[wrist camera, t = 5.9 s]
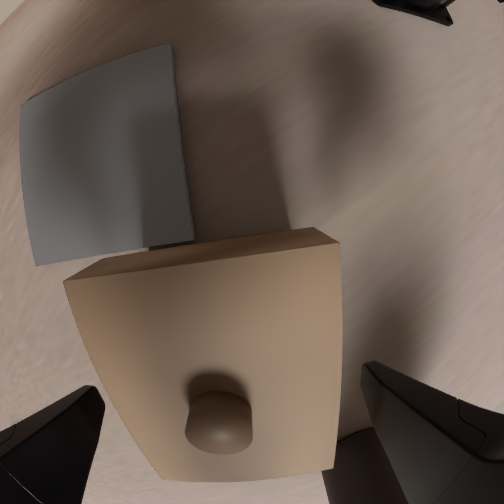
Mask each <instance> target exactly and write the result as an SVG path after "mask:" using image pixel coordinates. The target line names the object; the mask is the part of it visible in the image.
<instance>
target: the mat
mask: <svg viewBox="0 0 504 504" xmlns="http://www.w3.org/2000/svg"><path fill="white" fill-rule="evenodd" d="M20 162H21V179H22V190H23V199H24V207H25V214H26V221H27V227H28V232H29V238H30V243H31V247H32V252H33V256H34V261H35V265H36V266H40V265H45V264H51V263H56V262H62V261H68V260H73V259H79V258H85V257H91V256H97V255H103V254H109V253H115V252H121V251H127V250H133V249H139V248H146V247H152V246H158V245H165V244H171V243H178V242H185V241H191V240H194V239H195V238H196V237H195V231H194V225H193V219H192V213H191V206H190V200H189V193H188V186H187V179H186V172H185V164H184V157H183V149H182V140H181V132H180V122H179V113H178V103H177V92H176V80H175V67H174V52H173V46H172V44H171V42H170V43H166V44H162V45H159V46H155V47H151V48H148V49H144V50H141V51H138V52H135V53H132V54H129V55H126V56H123V57H120V58H117V59H114V60H112V61H109V62H106V63H104V64H101V65H99V66H96V67H94V68H91V69H89V70H87V71H84V72H82V73H80V74H78V75H76V76H73V77H71V78H69V79H67V80H65V81H63V82H61V83H59V84H57V85H55V86H53V87H52V88H50V89H48V90H46V91H44V92H42V93H41V94H39V95H37V96H35V97H34V98H32V99H30V100H29V101H27V102H25V103H24V104H22V105H21V118H20Z"/></svg>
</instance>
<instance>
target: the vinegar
mask: <svg viewBox="0 0 504 504" xmlns="http://www.w3.org/2000/svg"><path fill="white" fill-rule="evenodd" d="M321 472H322V476H323V480H324V484H325V488H326V492H327V496H328V500H329V504H409V503H408V501H407V499H406V496H405V494H404V492H403V489H402V487H401V485H400V483H399V480H398V478H397V476H396V474H395V471H394V469H393V467H392V465H391V463H390V460H389V458H388V456H387V454H386V452H385V450H384V448H383V445H382V443H381V441H380V439H379V437H378V435H377V433H376V431H375V429H369V430H365V431H361V432H358V433H356V434H353V435H351V436H349V437H347V438H345V439H343V440H342V441H340V442H338V443H336V451H335V459H334V466H333V468H332V469H327V470H323V471H321Z"/></svg>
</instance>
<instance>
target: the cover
mask: <svg viewBox="0 0 504 504" xmlns="http://www.w3.org/2000/svg"><path fill="white" fill-rule="evenodd" d="M63 284H64V288H65V291H66V294H67V297H68V301H69V304H70V307H71V310H72V313H73V316H74V318H75V321H76V324H77V327H78V329H79V332H80V335H81V337H82V340H83V342H84V345H85V347H86V350H87V352H88V354H89V357H90V359H91V361H92V363H93V366H94V368H95V370H96V372H97V374H98V376H99V379H100V381H101V383H102V385H103V387H104V389H105V391H106V393H107V395H108V396H109V398H110V400H111V402H112V404H113V406H114V408H115V409H116V411H117V413H118V415H119V416H120V418H121V420H122V422H123V423H124V425H125V427H126V428H127V430H128V432H129V433H130V435H131V436H132V438H133V439H134V441H135V443H136V444H137V446H138V447H139V449H140V450H141V452H142V453H143V454H144V456H145V457H146V459H147V460H148V462H149V463H150V464H151V466H152V467H153V469H154V470H155V471H156V473H157V474H158V475H159V476H160V478H161V479H162V480H172V481H187V482H240V481H255V480H266V479H275V478H283V477H290V476H296V475H302V474H308V473H313V472H318V471H323V470H327V469H332V468H333V466H334V459H335V451H336V442H337V433H338V422H339V410H340V396H341V377H342V342H343V311H342V276H341V256H340V243H339V242H338V241H336V240H334V239H333V238H331V237H329V236H328V235H326V234H324V233H323V232H321V231H319V230H317V229H316V228H314V227H311V228H303V229H296V230H288V231H281V232H274V233H266V234H259V235H252V236H245V237H238V238H231V239H224V240H218V241H211V242H204V243H197V244H191V245H184V246H178V247H171V248H165V249H158V250H152V251H146V252H139V253H133V254H127V255H121V256H115V257H109V258H103V259H101V260H99V261H97V262H96V263H94V264H92V265H90V266H88V267H87V268H85V269H83V270H81V271H80V272H78V273H76V274H75V275H73V276H71V277H69V278H68V279H66V280H64V281H63Z"/></svg>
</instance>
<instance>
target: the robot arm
mask: <svg viewBox="0 0 504 504" xmlns="http://www.w3.org/2000/svg"><path fill="white" fill-rule="evenodd" d="M374 1H375V3H377V4H378V5H380V6H382V7H386V8H390V9H394V10H398V11H402V12H406V13H409V14H413V15H416V16H420V17H423V18H426V19H429V20H432V21H435V22H438V23H440V24H443V25H446V26H450V25H452V24H453V20H452V18H451V16H450V14H449V12H448V10H447V8H446V7H447V6H448V5H450V4H451V3H452V2H454V1H455V0H383V1H382V0H374ZM497 1H498V2H499V3H502V2H504V0H497ZM360 385H361V390H362V393H363V396H364V399H365V402H366V405H367V408H368V411H369V414H370V417H371V420H372V423H373V426H374V428H375V431H376V433H377V435H378V437H379V439H380V441H381V443H382V445H383V448H384V450H385V452H386V454H387V456H388V458H389V460H390V463H391V465H392V467H393V469H394V471H395V474H396V476H397V478H398V480H399V483H400V485H401V487H402V489H403V492H404V494H405V496H406V499H407V501H408V503H409V504H504V414H501V413H497V412H493V411H490V410H487V409H484V408H481V407H478V406H475V405H473V404H470V403H468V402H465V401H463V400H460V399H458V400H457V398H456V397H453V396H451V395H449V394H446V393H444V392H442V391H440V390H437V389H435V388H433V387H431V386H428V385H426V384H424V383H422V382H420V381H417V380H415V379H413V378H411V377H409V376H407V375H404V374H402V373H400V372H398V371H396V370H394V369H392V368H390V367H388V366H385V365H383V364H381V363H379V362H377V361H370V362H366V363H364V364H363V365H362V371H361V381H360ZM104 412H105V403H104V401H103V399H102V397H101V395H100V393H99V391H98V389H97V388H96V387H95V386H91V385H85V386H83V387H81V388H79V389H77V390H76V391H74V392H72V393H70V394H69V395H67V396H65V397H63V398H62V399H60V400H58V401H56V402H55V403H53V404H51V405H49V406H47V407H46V408H44V409H42V410H40V411H38V412H37V413H35V414H33V415H31V416H29V417H27V418H26V419H24V420H22V421H20V422H18V423H17V424H14V425H12V426H11V427H9V428H7V429H5V430H3V431H1V432H0V504H81V503H82V499H83V495H84V491H85V487H86V483H87V479H88V476H89V472H90V469H91V465H92V462H93V458H94V455H95V451H96V448H97V445H98V441H99V436H100V431H101V426H102V422H103V417H104Z"/></svg>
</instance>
